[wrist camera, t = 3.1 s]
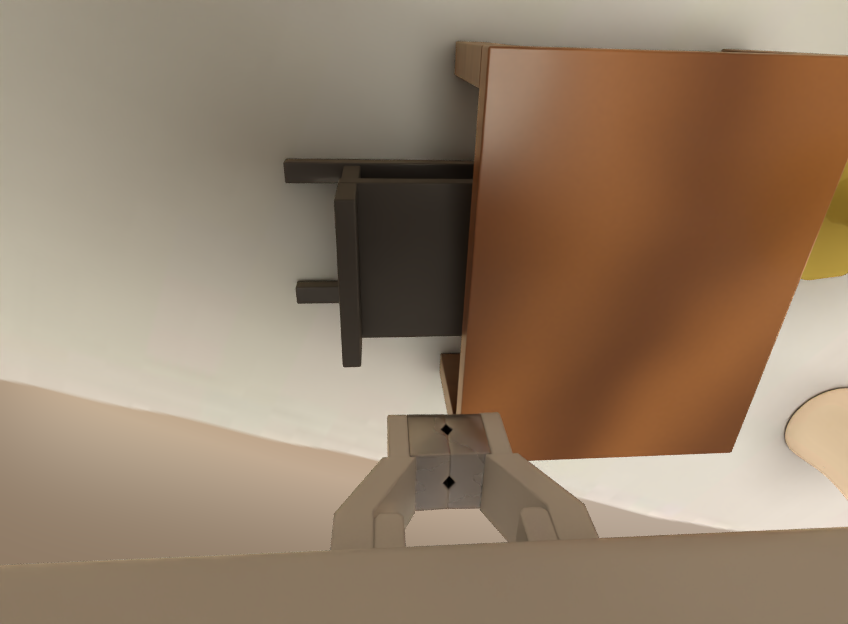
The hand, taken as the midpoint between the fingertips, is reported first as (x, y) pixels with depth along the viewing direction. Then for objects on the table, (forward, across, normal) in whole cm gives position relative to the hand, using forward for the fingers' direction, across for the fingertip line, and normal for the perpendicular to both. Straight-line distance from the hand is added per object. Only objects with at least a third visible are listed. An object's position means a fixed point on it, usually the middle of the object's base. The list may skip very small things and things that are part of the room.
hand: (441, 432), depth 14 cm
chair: (+16, +1, 0) cm, 16 cm away
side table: (+16, -9, 0) cm, 18 cm away
